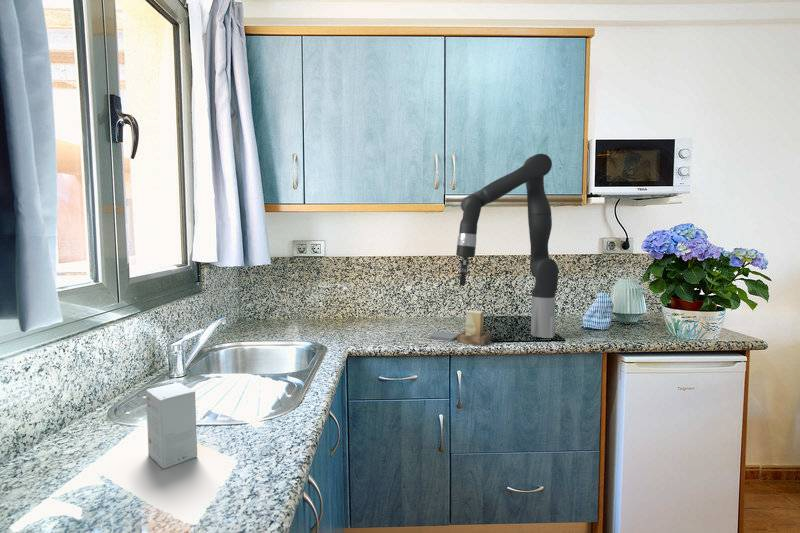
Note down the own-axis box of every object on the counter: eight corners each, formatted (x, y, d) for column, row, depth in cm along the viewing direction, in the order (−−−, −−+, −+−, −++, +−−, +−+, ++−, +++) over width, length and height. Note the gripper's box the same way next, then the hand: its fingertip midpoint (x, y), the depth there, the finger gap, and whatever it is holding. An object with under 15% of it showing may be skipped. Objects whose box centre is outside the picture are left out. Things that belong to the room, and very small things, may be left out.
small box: (198, 457, 84) (196, 391, 83) (162, 470, 79) (159, 400, 78) (181, 443, 89) (179, 381, 88) (147, 454, 85) (144, 389, 84)
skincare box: (464, 341, 175) (465, 311, 174) (468, 339, 178) (468, 309, 177) (480, 343, 172) (480, 312, 171) (483, 341, 175) (484, 311, 174)
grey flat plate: (460, 335, 184) (460, 333, 184) (452, 341, 175) (452, 338, 175) (438, 333, 189) (438, 331, 189) (429, 338, 180) (429, 335, 180)
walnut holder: (491, 339, 177) (491, 332, 177) (483, 345, 168) (483, 338, 167) (465, 336, 182) (466, 329, 182) (456, 342, 173) (457, 335, 172)
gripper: (476, 246, 169) (471, 287, 170) (475, 245, 183) (471, 284, 184) (456, 244, 170) (452, 285, 171) (457, 244, 184) (453, 282, 185)
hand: (462, 284), depth 178 cm, fingers open, 8 cm apart
